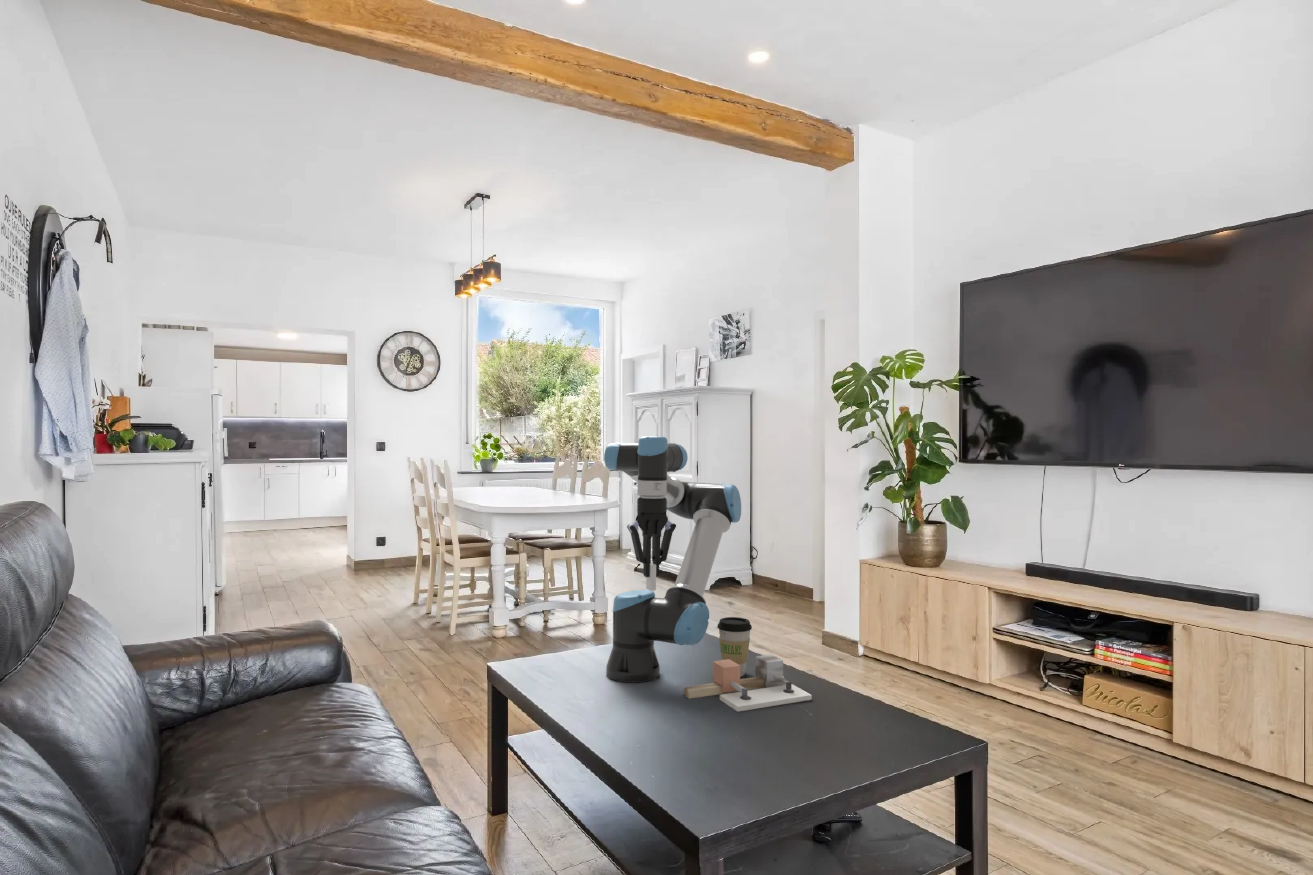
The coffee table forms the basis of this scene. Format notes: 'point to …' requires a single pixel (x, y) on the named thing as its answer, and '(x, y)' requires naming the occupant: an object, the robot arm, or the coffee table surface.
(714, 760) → the coffee table surface
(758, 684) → the rail
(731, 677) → the sliding leg
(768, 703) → the hole plate
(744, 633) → the coffee cup
